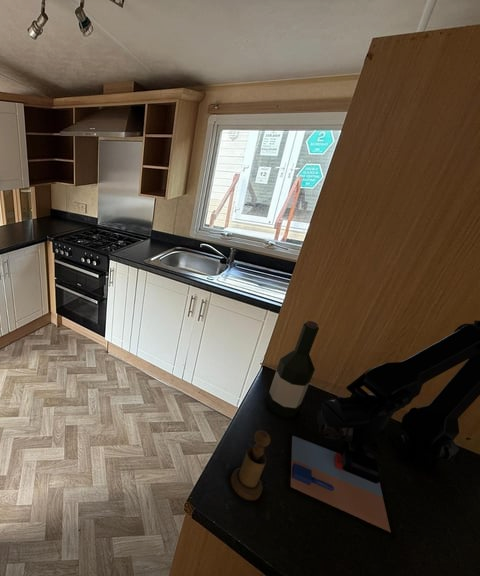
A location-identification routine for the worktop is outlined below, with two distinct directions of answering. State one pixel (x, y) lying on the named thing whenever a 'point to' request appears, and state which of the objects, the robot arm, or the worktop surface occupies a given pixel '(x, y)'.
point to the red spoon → (338, 461)
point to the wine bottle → (293, 374)
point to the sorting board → (338, 484)
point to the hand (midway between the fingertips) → (344, 464)
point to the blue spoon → (307, 477)
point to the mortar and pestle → (251, 469)
